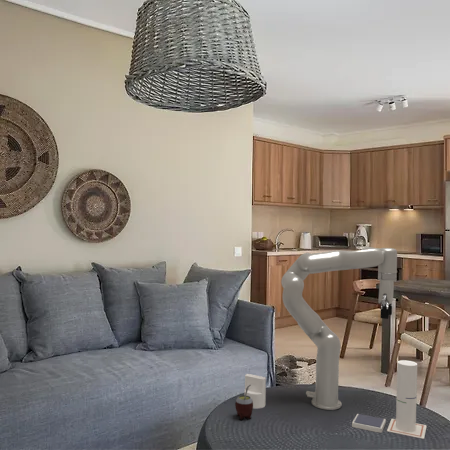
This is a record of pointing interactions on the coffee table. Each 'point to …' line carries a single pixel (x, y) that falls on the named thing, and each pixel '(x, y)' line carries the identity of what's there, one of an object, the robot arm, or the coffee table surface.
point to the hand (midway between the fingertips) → (386, 316)
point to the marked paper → (417, 433)
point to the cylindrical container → (406, 395)
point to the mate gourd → (244, 406)
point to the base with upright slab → (256, 389)
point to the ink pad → (369, 423)
